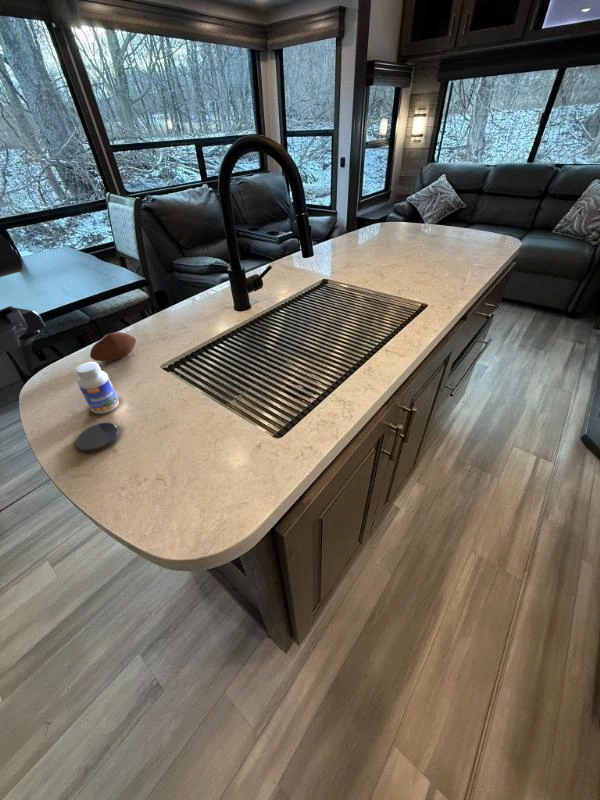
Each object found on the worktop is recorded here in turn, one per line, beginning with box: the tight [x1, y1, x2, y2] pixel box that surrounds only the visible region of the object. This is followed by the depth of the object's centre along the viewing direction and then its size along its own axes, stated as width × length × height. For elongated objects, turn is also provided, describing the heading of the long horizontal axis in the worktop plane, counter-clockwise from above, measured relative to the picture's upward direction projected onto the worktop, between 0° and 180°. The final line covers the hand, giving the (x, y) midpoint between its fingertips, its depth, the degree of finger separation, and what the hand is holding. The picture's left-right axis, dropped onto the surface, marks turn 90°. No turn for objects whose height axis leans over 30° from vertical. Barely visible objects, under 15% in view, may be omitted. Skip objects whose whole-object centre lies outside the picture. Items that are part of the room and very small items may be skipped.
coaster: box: [75, 422, 120, 453], centre depth 62 cm, size 7×7×1 cm
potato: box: [89, 331, 137, 362], centre depth 84 cm, size 6×12×6 cm, turn 141°
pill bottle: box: [75, 361, 119, 414], centre depth 67 cm, size 5×5×10 cm
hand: (3, 390), depth 53 cm, fingers open, 9 cm apart
